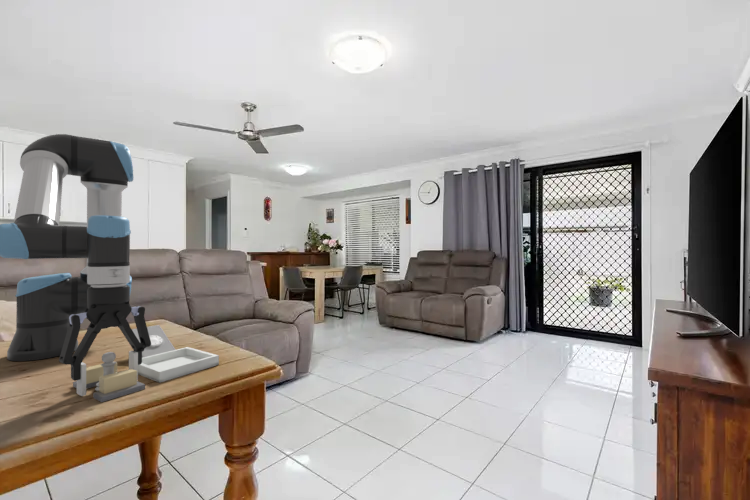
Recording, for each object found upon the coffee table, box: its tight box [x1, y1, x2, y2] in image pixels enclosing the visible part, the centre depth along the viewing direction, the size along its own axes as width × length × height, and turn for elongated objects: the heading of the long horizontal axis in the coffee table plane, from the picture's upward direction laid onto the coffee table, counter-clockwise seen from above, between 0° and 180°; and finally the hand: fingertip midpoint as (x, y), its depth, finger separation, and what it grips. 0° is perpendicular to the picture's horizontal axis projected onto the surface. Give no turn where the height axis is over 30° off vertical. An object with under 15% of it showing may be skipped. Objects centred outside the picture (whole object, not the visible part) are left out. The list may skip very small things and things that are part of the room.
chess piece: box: [94, 351, 118, 392], centre depth 77 cm, size 5×5×8 cm
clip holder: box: [72, 362, 146, 403], centre depth 77 cm, size 15×8×4 cm, turn 58°
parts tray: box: [138, 346, 220, 384], centre depth 90 cm, size 15×15×2 cm
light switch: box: [131, 324, 177, 358], centre depth 99 cm, size 8×6×14 cm
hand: (108, 386), depth 77 cm, fingers open, 9 cm apart
